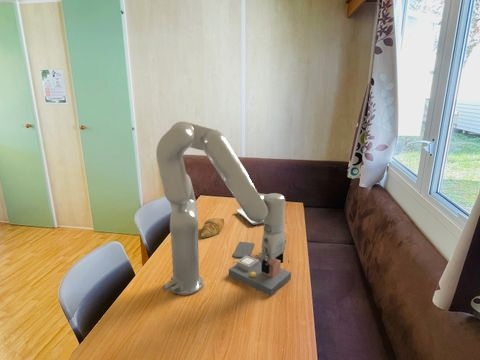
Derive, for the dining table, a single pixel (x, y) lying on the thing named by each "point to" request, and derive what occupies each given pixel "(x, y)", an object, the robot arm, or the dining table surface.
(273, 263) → the block
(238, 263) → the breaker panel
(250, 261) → the button
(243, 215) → the salad plate
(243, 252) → the smartphone
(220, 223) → the croissant
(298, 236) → the dining table surface
